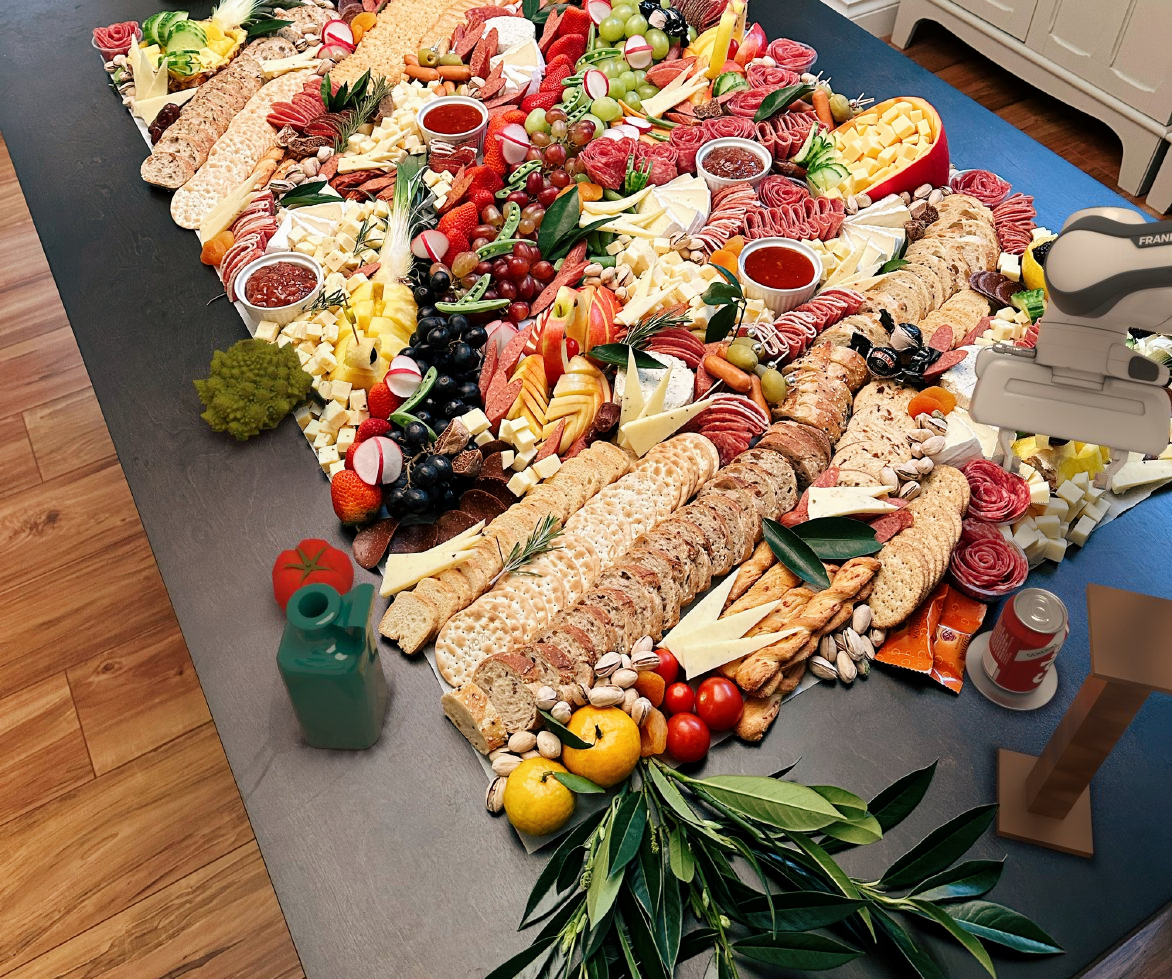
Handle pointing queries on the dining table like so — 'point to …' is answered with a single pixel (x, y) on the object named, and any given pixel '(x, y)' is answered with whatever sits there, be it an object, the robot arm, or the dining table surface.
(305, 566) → the tomato
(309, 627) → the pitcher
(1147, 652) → the walnut stand
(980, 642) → the steel plate
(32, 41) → the dining table surface
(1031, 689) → the soda can
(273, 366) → the vegetable
